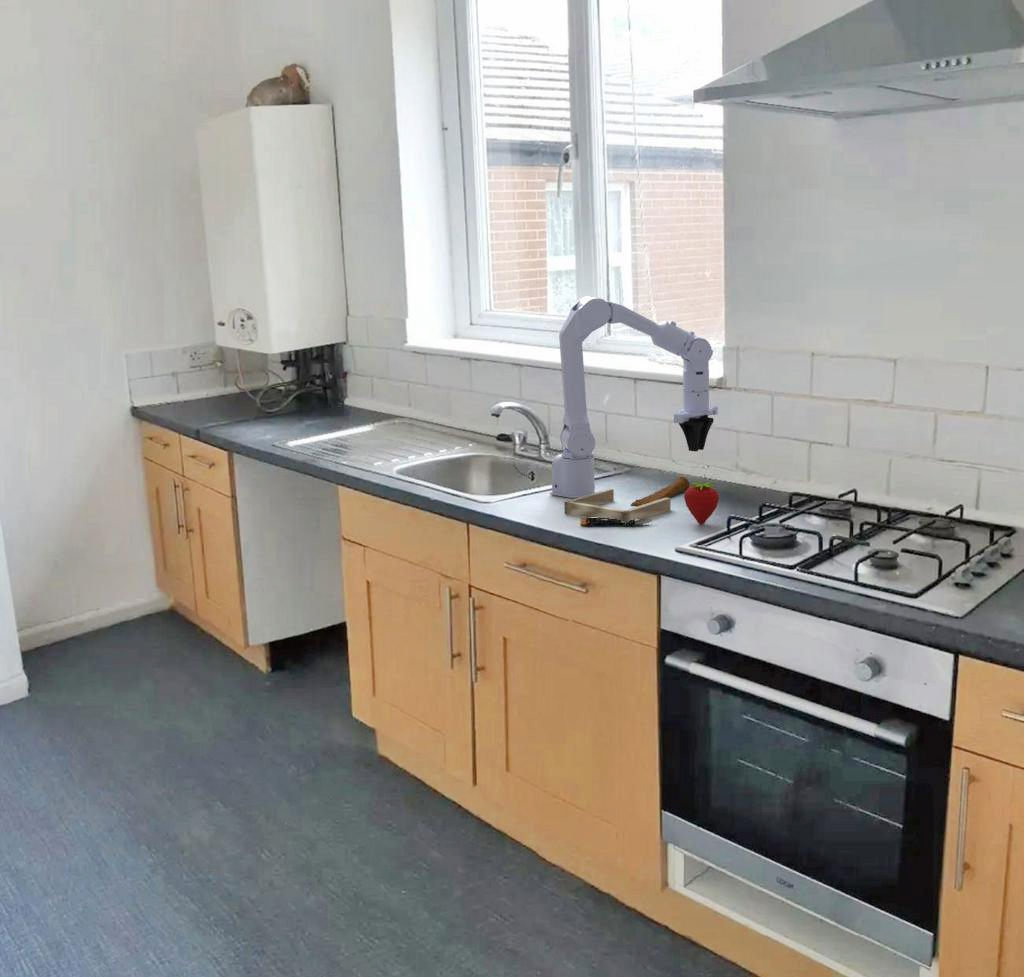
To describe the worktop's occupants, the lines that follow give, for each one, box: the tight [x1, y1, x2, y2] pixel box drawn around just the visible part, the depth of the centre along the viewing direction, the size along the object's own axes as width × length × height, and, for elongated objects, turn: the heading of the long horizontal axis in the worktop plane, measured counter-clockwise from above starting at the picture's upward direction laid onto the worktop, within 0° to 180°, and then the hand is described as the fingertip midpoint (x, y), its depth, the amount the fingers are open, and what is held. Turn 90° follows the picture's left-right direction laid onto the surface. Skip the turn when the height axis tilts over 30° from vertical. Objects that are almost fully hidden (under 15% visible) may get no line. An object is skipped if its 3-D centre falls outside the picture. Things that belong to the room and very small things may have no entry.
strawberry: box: [683, 474, 720, 525], centre depth 216 cm, size 6×8×10 cm
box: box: [563, 488, 671, 525], centre depth 229 cm, size 16×15×2 cm
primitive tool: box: [630, 476, 691, 508], centre depth 240 cm, size 19×6×4 cm, turn 144°
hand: (696, 450), depth 248 cm, fingers closed
